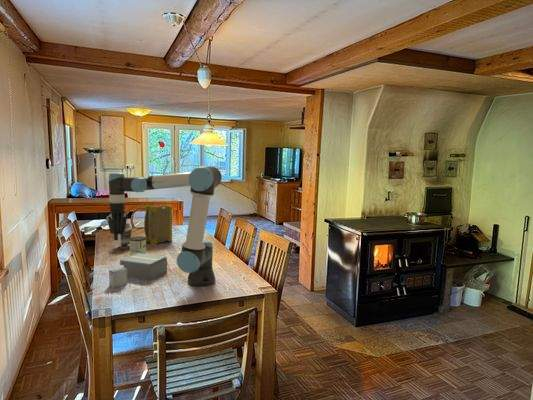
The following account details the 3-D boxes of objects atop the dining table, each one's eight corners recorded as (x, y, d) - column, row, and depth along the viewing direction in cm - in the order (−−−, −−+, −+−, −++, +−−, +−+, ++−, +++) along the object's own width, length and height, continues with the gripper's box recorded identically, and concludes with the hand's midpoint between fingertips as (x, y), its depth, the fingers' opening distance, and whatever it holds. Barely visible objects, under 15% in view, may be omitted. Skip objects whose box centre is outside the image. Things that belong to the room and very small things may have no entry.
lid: (166, 261, 213) (166, 256, 213) (149, 269, 198) (149, 263, 197) (138, 257, 219) (138, 252, 218) (119, 265, 203) (119, 259, 203)
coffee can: (131, 256, 243) (131, 236, 242) (147, 256, 245) (147, 236, 244) (128, 260, 233) (128, 239, 232) (144, 260, 235) (144, 239, 233)
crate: (166, 271, 214) (166, 258, 213) (150, 280, 198) (150, 266, 197) (141, 268, 219) (141, 255, 218) (123, 276, 203) (123, 262, 203)
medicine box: (123, 282, 194) (122, 266, 193) (127, 284, 191) (127, 268, 190) (108, 285, 187) (108, 269, 186) (113, 288, 185) (112, 271, 184)
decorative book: (166, 239, 297) (166, 203, 294) (173, 241, 289) (173, 205, 286) (143, 242, 283) (143, 205, 279) (150, 245, 275) (150, 206, 272)
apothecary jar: (113, 247, 265) (112, 223, 263) (129, 245, 273) (129, 222, 271) (118, 250, 256) (118, 226, 254) (135, 248, 264) (135, 224, 262)
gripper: (121, 200, 196) (122, 242, 199) (101, 202, 184) (102, 247, 187) (131, 201, 193) (132, 244, 195) (111, 204, 181) (112, 249, 184)
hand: (118, 245), depth 191 cm, fingers closed
